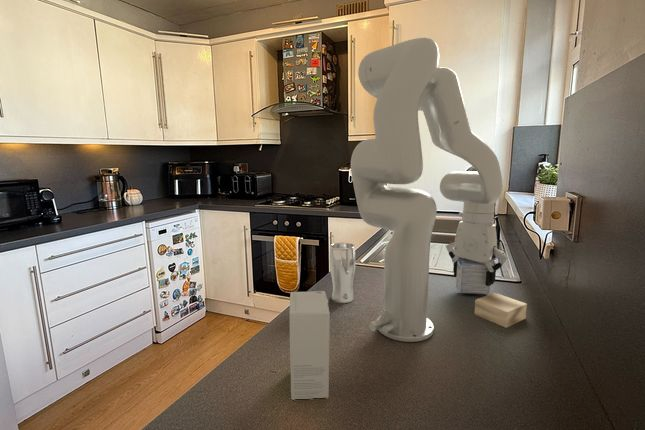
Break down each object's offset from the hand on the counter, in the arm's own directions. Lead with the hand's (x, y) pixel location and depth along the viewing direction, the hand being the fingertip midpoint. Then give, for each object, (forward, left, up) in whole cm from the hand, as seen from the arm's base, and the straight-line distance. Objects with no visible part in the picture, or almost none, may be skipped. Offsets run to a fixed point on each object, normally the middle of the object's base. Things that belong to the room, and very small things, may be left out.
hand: (473, 279), depth 96 cm
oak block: (-7, -11, -4) cm, 14 cm away
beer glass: (-29, +21, -4) cm, 36 cm away
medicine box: (0, 0, -3) cm, 3 cm away
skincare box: (-57, -2, -4) cm, 58 cm away
